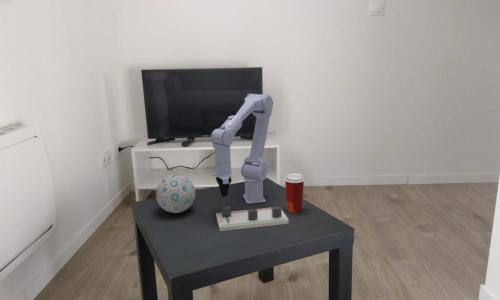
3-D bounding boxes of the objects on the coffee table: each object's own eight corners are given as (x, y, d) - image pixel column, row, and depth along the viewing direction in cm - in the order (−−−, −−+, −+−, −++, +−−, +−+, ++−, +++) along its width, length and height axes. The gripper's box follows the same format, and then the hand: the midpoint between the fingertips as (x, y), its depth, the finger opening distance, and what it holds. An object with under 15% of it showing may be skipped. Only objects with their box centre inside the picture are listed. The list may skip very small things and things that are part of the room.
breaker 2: (247, 217, 137) (247, 209, 137) (256, 216, 138) (256, 208, 137) (248, 219, 136) (248, 212, 135) (257, 218, 136) (257, 211, 135)
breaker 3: (271, 214, 139) (271, 207, 138) (280, 214, 140) (280, 206, 139) (273, 217, 137) (273, 209, 136) (281, 216, 138) (281, 208, 137)
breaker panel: (216, 216, 143) (216, 213, 142) (279, 210, 147) (279, 206, 147) (219, 231, 132) (219, 227, 131) (288, 223, 136) (288, 219, 136)
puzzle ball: (149, 215, 146) (145, 178, 142) (174, 201, 159) (171, 167, 155) (180, 222, 139) (177, 184, 135) (204, 207, 152) (201, 172, 148)
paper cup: (305, 206, 150) (305, 173, 146) (302, 214, 143) (303, 180, 139) (286, 205, 152) (286, 172, 148) (282, 213, 145) (282, 178, 141)
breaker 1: (221, 214, 140) (221, 207, 140) (230, 213, 141) (229, 206, 140) (222, 216, 139) (222, 209, 138) (231, 215, 139) (230, 208, 138)
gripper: (210, 156, 145) (211, 190, 148) (213, 167, 131) (215, 204, 134) (228, 155, 146) (229, 188, 149) (233, 166, 132) (235, 202, 135)
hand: (224, 195), depth 142 cm, fingers closed
